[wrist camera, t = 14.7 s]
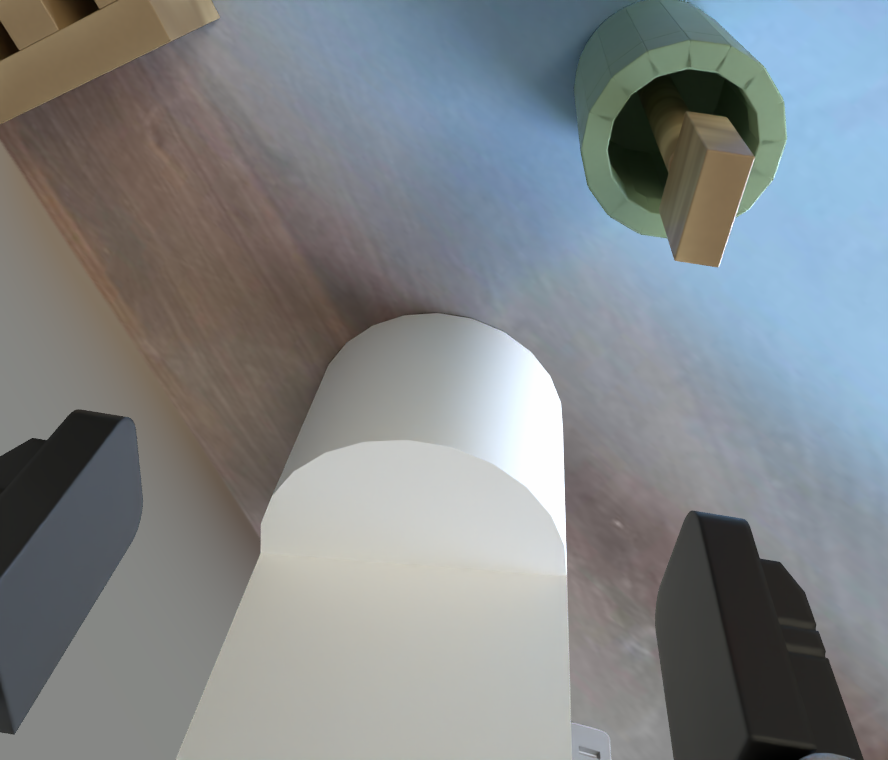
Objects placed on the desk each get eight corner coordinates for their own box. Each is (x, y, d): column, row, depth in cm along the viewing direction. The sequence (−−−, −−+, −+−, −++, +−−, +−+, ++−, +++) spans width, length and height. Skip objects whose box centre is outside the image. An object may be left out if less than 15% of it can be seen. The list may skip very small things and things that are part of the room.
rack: (-37, -27, 45) (-124, -10, 39) (145, -129, 42) (79, -128, 36) (45, 102, 49) (-24, 135, 43) (220, 17, 45) (171, 41, 39)
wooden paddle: (627, 118, 45) (671, 260, 29) (645, 41, 43) (704, 148, 27) (660, 124, 45) (722, 269, 29) (680, 46, 43) (759, 157, 27)
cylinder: (554, 524, 62) (558, 934, 38) (326, 508, 63) (196, 893, 40) (573, 319, 53) (594, 694, 29) (306, 306, 54) (120, 652, 30)
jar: (634, -35, 42) (662, -1, 32) (764, 52, 43) (830, 110, 33) (545, 109, 46) (545, 179, 36) (667, 183, 47) (699, 270, 37)
